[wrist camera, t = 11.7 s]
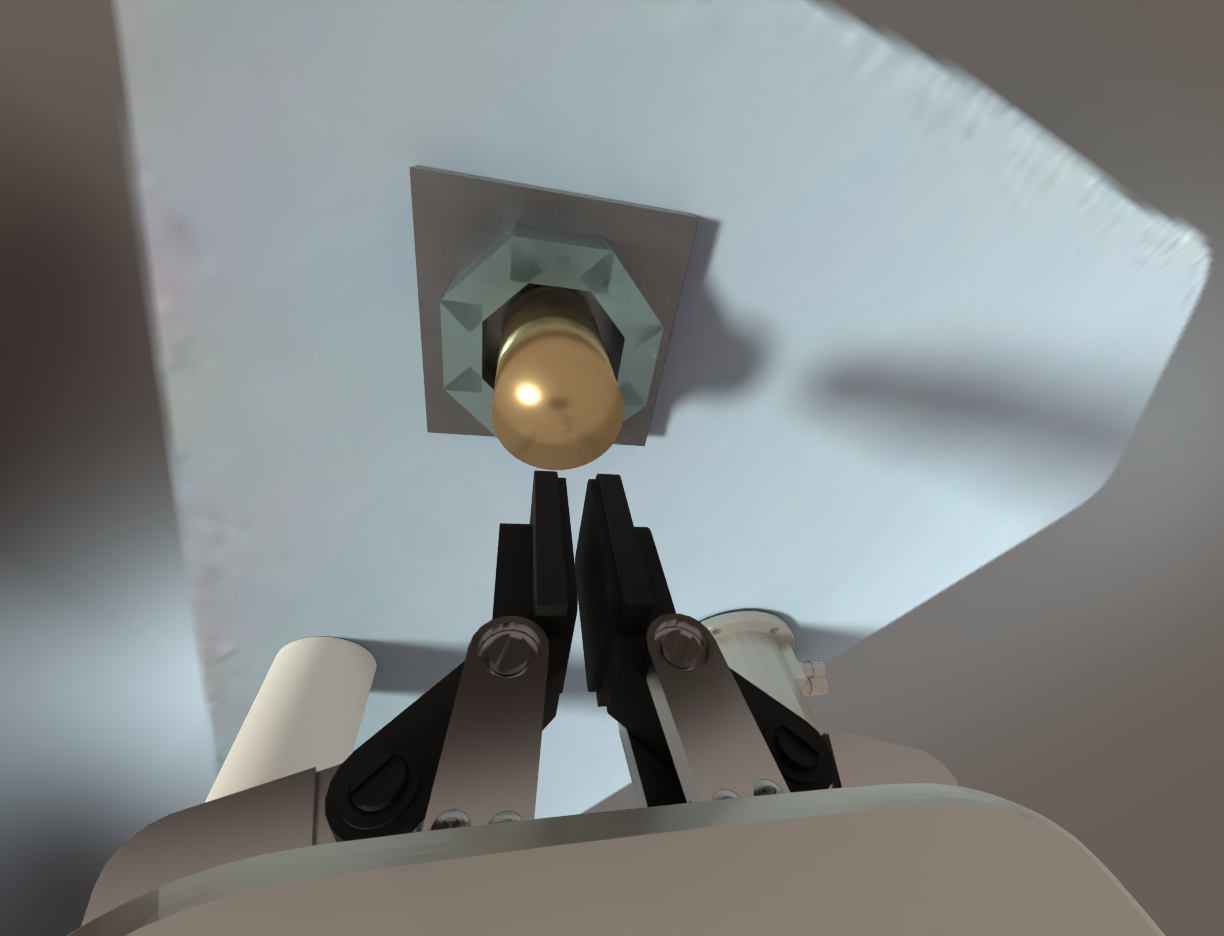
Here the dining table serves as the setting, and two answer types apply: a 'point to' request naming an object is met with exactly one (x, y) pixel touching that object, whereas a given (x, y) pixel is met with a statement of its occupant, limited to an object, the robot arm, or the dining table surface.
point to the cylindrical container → (301, 714)
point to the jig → (539, 285)
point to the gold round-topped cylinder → (554, 383)
